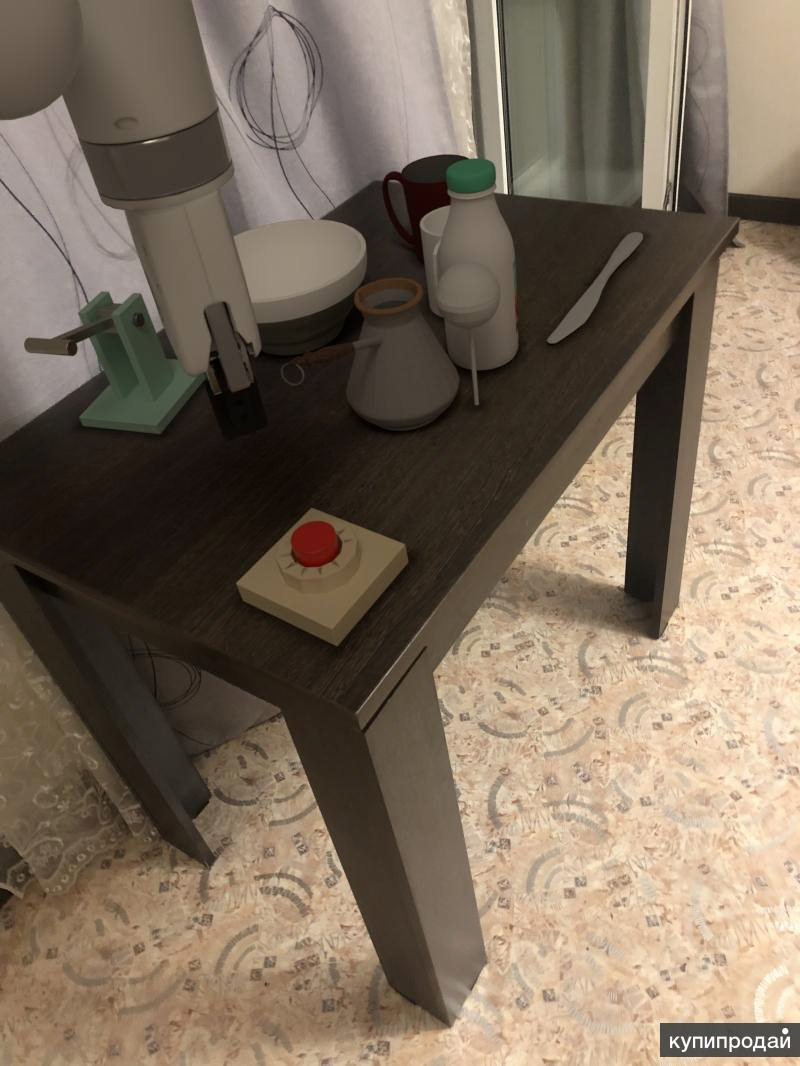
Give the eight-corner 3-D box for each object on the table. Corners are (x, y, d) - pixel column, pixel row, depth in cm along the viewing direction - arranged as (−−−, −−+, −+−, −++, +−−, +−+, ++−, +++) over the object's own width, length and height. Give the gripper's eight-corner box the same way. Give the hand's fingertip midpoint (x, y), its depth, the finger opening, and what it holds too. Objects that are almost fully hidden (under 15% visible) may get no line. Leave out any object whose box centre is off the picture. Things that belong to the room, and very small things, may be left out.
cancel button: (321, 574, 63) (316, 558, 62) (286, 558, 65) (281, 543, 64) (348, 544, 65) (344, 529, 64) (314, 530, 67) (309, 515, 66)
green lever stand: (160, 434, 86) (119, 336, 78) (82, 426, 89) (35, 331, 81) (212, 370, 94) (179, 275, 86) (139, 365, 97) (101, 272, 89)
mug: (380, 267, 107) (366, 182, 99) (404, 236, 113) (393, 154, 105) (467, 271, 103) (460, 183, 95) (487, 239, 108) (482, 154, 101)
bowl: (288, 280, 108) (271, 209, 101) (410, 308, 98) (400, 231, 92) (184, 356, 97) (157, 282, 90) (310, 395, 88) (290, 316, 81)
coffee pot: (386, 368, 89) (363, 237, 79) (480, 387, 84) (470, 250, 74) (273, 489, 77) (230, 353, 67) (377, 520, 72) (347, 378, 62)
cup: (408, 333, 94) (396, 251, 87) (442, 282, 102) (434, 202, 95) (475, 339, 91) (469, 255, 84) (506, 286, 99) (502, 205, 92)
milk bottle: (515, 372, 86) (508, 180, 72) (443, 373, 87) (422, 185, 73) (521, 333, 91) (515, 147, 77) (453, 334, 93) (435, 153, 79)
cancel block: (337, 647, 63) (327, 613, 60) (242, 600, 67) (229, 568, 65) (408, 562, 68) (402, 528, 65) (316, 525, 73) (307, 492, 70)
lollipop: (488, 427, 80) (478, 286, 69) (436, 414, 82) (419, 277, 72) (516, 393, 83) (510, 253, 73) (465, 381, 86) (452, 245, 75)
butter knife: (653, 233, 102) (630, 228, 103) (565, 346, 87) (539, 339, 89) (652, 237, 103) (629, 233, 104) (565, 350, 88) (539, 344, 89)
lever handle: (70, 363, 76) (64, 337, 75) (27, 359, 77) (20, 334, 76) (146, 327, 86) (142, 304, 84) (107, 325, 87) (102, 302, 86)
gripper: (75, 137, 49) (171, 393, 61) (111, 220, 38) (218, 509, 51) (196, 106, 50) (265, 362, 63) (263, 178, 40) (330, 468, 52)
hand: (244, 427), depth 57 cm, fingers closed
